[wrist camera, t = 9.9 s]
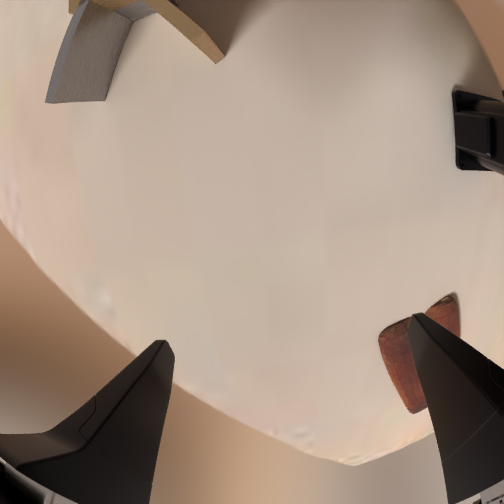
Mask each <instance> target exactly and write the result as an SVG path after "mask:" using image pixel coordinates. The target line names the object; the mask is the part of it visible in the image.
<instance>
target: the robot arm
mask: <svg viewBox="0 0 504 504" xmlns="http://www.w3.org/2000/svg"><path fill="white" fill-rule="evenodd" d="M502 93H503V96H504V90H503V91H502ZM457 94H458V95H459V99H458V97H457ZM452 98H453V107H454V119H455V138H456V166H457V168H458V169H461V170H478V171H495V172H497V173H499V174H502V175H504V102H501V101H500V100H496V99H493V98H489V97H485V96H481V95H477V94H473V93H469V92H464V91H459V90H455V91H453V93H452ZM461 162H462V165H461ZM407 335H408V340H409V343H410V347H411V351H412V355H413V360H414V364H415V368H416V372H417V375H418V378H419V381H420V384H421V387H422V390H423V393H424V396H425V399H426V403H427V406H428V409H429V413H430V416H431V420H432V424H433V427H434V431H435V435H436V439H437V443H438V448H439V452H440V456H441V461H442V467H443V473H444V478H445V484H446V491H447V498H448V504H456V503H458V502H460V501H463V500H465V499H467V498H470V497H472V496H474V495H476V494H478V493H480V496H481V498H480V499H478V500H477V501H475V502H473V504H504V369H502V368H501V367H500V366H498V365H497V364H495V363H494V362H493V361H491V360H490V359H488V358H487V357H486V356H484V355H483V354H482V353H480V352H479V351H477V350H476V349H475V348H473V347H472V346H470V345H469V344H468V343H466V342H465V341H463V340H462V339H460V338H459V337H458V336H456V335H455V334H453V333H452V332H450V331H449V330H448V329H446V328H445V327H443V326H442V325H440V324H439V323H437V322H436V321H434V320H433V319H431V318H430V317H428V316H427V315H425V314H424V313H416V314H413V315H412V316H411V319H410V323H409V327H408V331H407ZM174 362H175V356H174V353H173V351H172V349H171V347H170V345H169V343H168V342H167V341H166V340H156V341H154V342H153V343H152V344H151V345H150V346H149V347H148V348H146V349H145V350H144V351H143V352H142V353H141V354H140V355H139V356H138V357H137V358H135V359H134V360H133V361H132V362H131V363H130V364H129V365H128V366H127V367H125V368H124V369H123V370H122V371H121V372H120V373H119V374H118V375H117V376H115V378H113V379H112V380H111V381H110V382H109V383H108V384H107V385H105V386H104V387H103V388H102V389H101V390H100V391H99V392H98V393H97V394H96V395H94V396H93V397H92V398H91V399H90V400H89V401H88V402H86V403H85V404H84V405H83V406H82V407H80V408H79V409H78V410H77V411H75V412H74V413H73V414H71V415H70V416H69V417H68V418H66V419H65V420H63V421H62V422H61V423H59V424H58V425H57V426H55V427H54V428H52V429H51V430H49V431H46V432H43V433H36V434H0V457H1V458H2V459H3V460H5V461H6V464H4V463H3V462H1V461H0V504H149V501H150V494H151V489H152V483H153V477H154V471H155V466H156V461H157V455H158V450H159V445H160V441H161V436H162V431H163V426H164V421H165V417H166V413H167V408H168V403H169V399H170V394H171V387H172V379H173V370H174Z"/></svg>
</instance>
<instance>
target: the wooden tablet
mask: <svg viewBox="0 0 504 504" xmlns="http://www.w3.org/2000/svg"><path fill="white" fill-rule="evenodd" d="M425 315H427V316H428V317H430V318H431V319H433V320H434V321H436V322H437V323H439V324H440V325H442V326H443V327H445V328H446V329H448V330H449V331H450V332H452V333H453V334H455V335H456V336H458V337H459V321H458V320H459V317H458V309H457V305H456V302H455V300H454V299H453V298H452V297H451V296H448V297H445V298H443V299H442V300H440V301H439V302H437V303H436V304H434V305H433V306H431V307H430V308H429V309H428V310H427V311H426V312H425ZM410 319H411V317H409V318H407V319H404V320H402V321H400V322H398V323H396V324H394V325H392V326H390V327H388V328H387V329H385V330H384V331H382V332H381V334H380V335H379V339H378V342H379V346H380V350H381V354H382V358H383V360H384V363H385V366H386V368H387V371H388V373H389V375H390V377H391V379H392V382H393V384H394V386H395V387H396V389H397V391H398V393H399V395H400V397H401V399H402V400H403V402H404V404H405V406H406V407H407V409H408V410H409V412H410V413H412V414H415V413H417V412H420V411H422V410H423V409H425V408H427V407H428V406H427V403H426V399H425V396H424V393H423V390H422V387H421V384H420V381H419V378H418V375H417V372H416V368H415V364H414V360H413V355H412V351H411V347H410V343H409V340H408V335H407V331H408V327H409V323H410Z"/></svg>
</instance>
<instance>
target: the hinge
mask: <svg viewBox="0 0 504 504" xmlns="http://www.w3.org/2000/svg"><path fill="white" fill-rule="evenodd" d="M177 5H179V3H178V0H69V13H71V14H74V15H73V17H72V19H71V21H70V24H69V26H68V29H67V31H66V34H65V36H64V39H63V42H62V44H61V47H60V50H59V53H58V56H57V59H56V62H55V66H54V69H53V73H52V76H51V80H50V84H49V88H48V92H47V96H46V101H45V103H52V104H55V103H67V102H86V101H105V98H106V95H107V91H108V88H109V85H110V81H111V78H112V75H113V72H114V69H115V66H116V63H117V60H118V58H119V55H120V52H121V50H122V47H123V44H124V42H125V39H126V37H127V35H128V32H129V30H130V28H131V25H132V23H133V22H134V21H136V20H139V19H141V18H144V17H146V16H149V15H151V14H154V13H157V12H158V13H159V14H160V15H161V16H163V17H164V18H165V19H166V20H167V21H169V22H170V23H171V24H172V25H173V26H174V27H176V28H177V29H178V30H179V31H180V32H181V33H182V34H183V35H185V36H186V37H187V38H188V39H189V40H190V41H191V42H192V43H193V44H194V45H196V46H197V47H198V48H199V49H200V50H201V51H202V52H203V53H205V54H206V55H207V56H208V57H209V58H210V59H211V60H212V61H213V62H214V63H215V64H216V63H218V62H219V61H220V60H222V59H223V58H224V57H225V56H224V55H223V53H222V52H221V51H220V49H219V48H218V47H217V46H216V44H215V43H214V42H213V41H212V39H211V38H210V37H209V36H208V34H207V33H206V32H205V31H204V30H203V29H202V28H201V27H199V26H198V25H197V24H196V23H195V22H194V21H193V20H191V19H190V18H189V17H188V16H187V15H185V14H184V13H183V12H182V11H181V10H179V9H178V8H177V7H176V6H177Z"/></svg>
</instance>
